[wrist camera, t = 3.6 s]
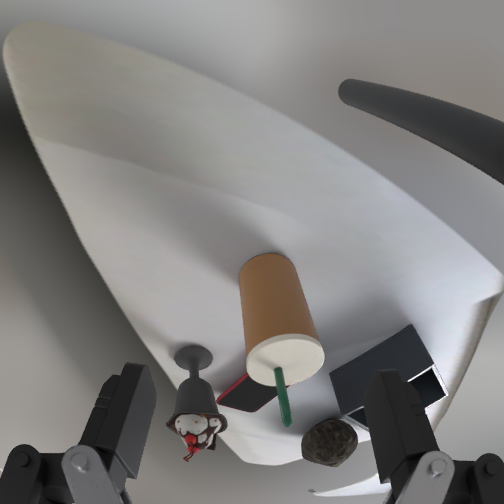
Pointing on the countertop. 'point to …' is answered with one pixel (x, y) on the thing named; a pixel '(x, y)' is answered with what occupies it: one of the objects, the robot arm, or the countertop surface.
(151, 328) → the countertop surface
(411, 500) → the robot arm
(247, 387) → the smartphone
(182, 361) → the sundae
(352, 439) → the rock
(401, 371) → the bin
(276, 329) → the takeaway cup
